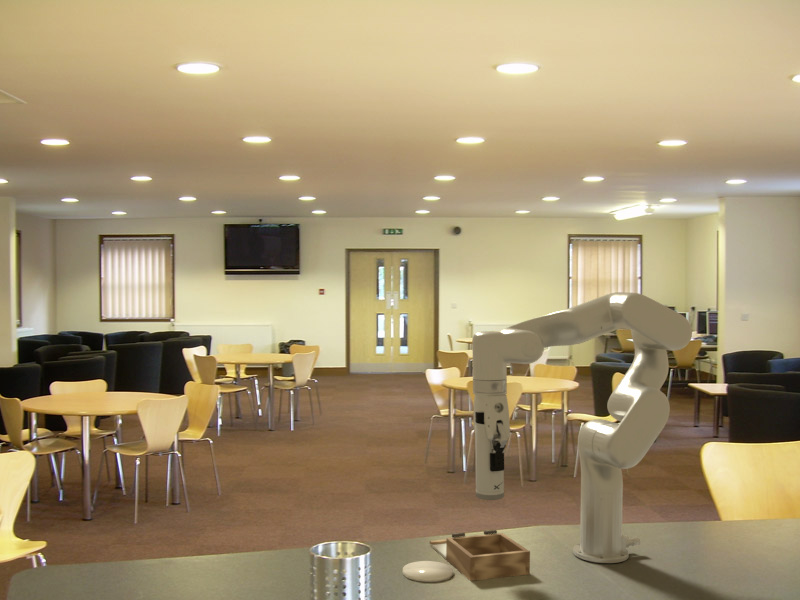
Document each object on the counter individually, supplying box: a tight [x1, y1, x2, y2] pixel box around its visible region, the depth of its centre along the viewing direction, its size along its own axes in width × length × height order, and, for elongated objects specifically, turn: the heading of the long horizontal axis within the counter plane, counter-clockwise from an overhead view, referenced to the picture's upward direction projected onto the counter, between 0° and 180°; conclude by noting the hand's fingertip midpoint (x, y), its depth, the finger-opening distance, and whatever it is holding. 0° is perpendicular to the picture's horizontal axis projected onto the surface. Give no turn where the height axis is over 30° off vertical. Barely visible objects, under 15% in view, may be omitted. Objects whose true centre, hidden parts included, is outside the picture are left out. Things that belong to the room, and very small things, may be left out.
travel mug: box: [474, 412, 505, 501], centre depth 183 cm, size 6×7×20 cm
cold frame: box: [429, 529, 531, 582], centre depth 189 cm, size 14×25×6 cm, turn 18°
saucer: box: [402, 560, 454, 583], centre depth 179 cm, size 11×11×1 cm
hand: (490, 466), depth 183 cm, fingers closed on travel mug, 6 cm apart
